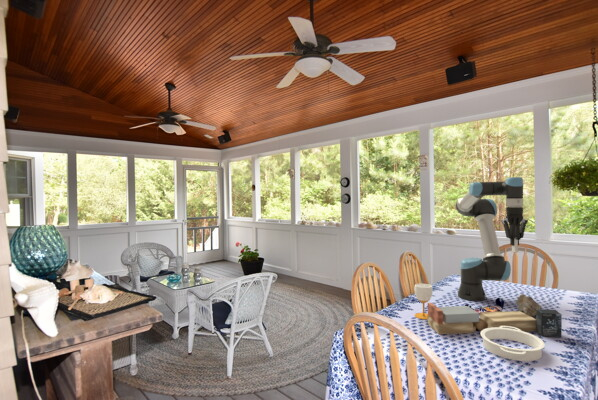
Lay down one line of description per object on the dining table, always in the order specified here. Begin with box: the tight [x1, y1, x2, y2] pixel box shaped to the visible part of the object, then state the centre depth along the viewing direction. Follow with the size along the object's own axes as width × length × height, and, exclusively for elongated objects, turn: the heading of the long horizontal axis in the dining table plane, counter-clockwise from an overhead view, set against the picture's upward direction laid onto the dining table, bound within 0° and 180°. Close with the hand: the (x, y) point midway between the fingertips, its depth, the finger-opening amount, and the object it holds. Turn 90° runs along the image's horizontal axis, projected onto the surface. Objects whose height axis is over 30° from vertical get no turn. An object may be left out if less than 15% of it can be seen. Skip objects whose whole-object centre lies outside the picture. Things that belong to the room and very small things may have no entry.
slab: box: [437, 305, 480, 323], centre depth 161 cm, size 10×16×4 cm, turn 94°
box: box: [535, 308, 563, 338], centre depth 152 cm, size 8×6×11 cm
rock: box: [516, 293, 542, 318], centre depth 176 cm, size 9×12×10 cm
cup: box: [414, 283, 434, 321], centre depth 176 cm, size 9×9×16 cm
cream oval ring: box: [480, 326, 546, 362], centre depth 139 cm, size 29×22×5 cm
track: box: [427, 302, 536, 335], centre depth 161 cm, size 12×46×10 cm, turn 92°
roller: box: [472, 317, 488, 332], centre depth 161 cm, size 10×5×5 cm
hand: (514, 251), depth 178 cm, fingers closed
